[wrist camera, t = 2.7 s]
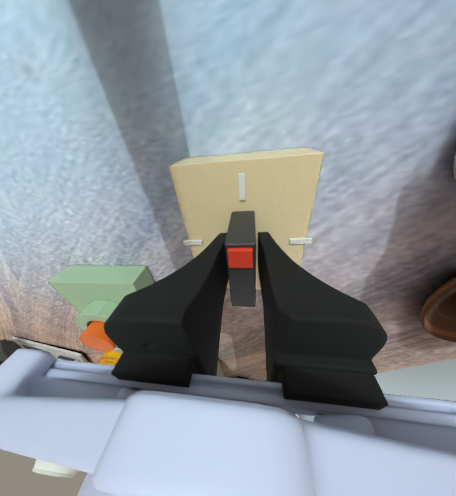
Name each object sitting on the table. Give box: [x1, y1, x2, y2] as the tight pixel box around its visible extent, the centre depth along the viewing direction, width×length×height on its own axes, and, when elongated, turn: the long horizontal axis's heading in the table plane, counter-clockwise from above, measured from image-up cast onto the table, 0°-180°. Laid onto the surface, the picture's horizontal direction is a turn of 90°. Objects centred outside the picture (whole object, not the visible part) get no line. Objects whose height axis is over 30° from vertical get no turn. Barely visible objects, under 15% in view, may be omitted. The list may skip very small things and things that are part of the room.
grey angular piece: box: [11, 337, 89, 363], centre depth 36 cm, size 15×7×4 cm, turn 77°
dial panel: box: [169, 147, 324, 290], centre depth 12 cm, size 10×9×3 cm
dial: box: [224, 211, 256, 307], centre depth 10 cm, size 4×1×4 cm, turn 5°
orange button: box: [79, 321, 116, 351], centre depth 18 cm, size 4×4×2 cm
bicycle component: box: [0, 340, 24, 365], centre depth 36 cm, size 12×7×15 cm
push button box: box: [48, 265, 155, 331], centre depth 21 cm, size 12×10×4 cm
